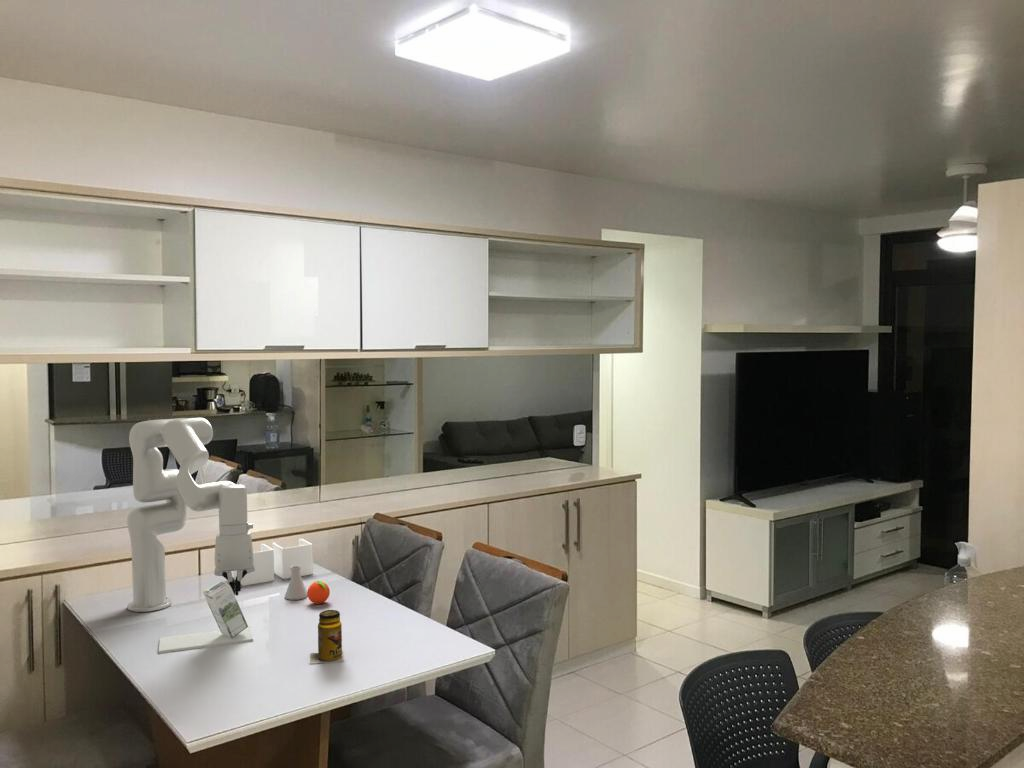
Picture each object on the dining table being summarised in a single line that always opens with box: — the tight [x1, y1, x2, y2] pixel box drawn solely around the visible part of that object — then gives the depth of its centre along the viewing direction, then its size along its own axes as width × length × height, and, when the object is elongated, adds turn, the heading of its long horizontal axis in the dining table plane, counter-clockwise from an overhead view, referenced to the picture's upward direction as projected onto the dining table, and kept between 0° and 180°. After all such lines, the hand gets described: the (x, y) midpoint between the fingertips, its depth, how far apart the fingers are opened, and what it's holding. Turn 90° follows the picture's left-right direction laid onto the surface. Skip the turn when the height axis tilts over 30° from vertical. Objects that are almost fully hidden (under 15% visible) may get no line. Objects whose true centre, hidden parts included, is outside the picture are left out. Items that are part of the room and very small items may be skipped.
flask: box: [284, 566, 308, 601], centre depth 272 cm, size 7×7×10 cm
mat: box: [158, 626, 254, 654], centre depth 232 cm, size 11×24×1 cm, turn 111°
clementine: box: [307, 580, 331, 605], centre depth 265 cm, size 8×7×7 cm
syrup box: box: [202, 580, 249, 639], centre depth 233 cm, size 6×6×14 cm
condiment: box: [309, 609, 345, 665], centre depth 218 cm, size 7×8×12 cm
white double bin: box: [232, 538, 314, 586], centre depth 297 cm, size 25×11×11 cm, turn 124°
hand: (235, 594), depth 235 cm, fingers closed
